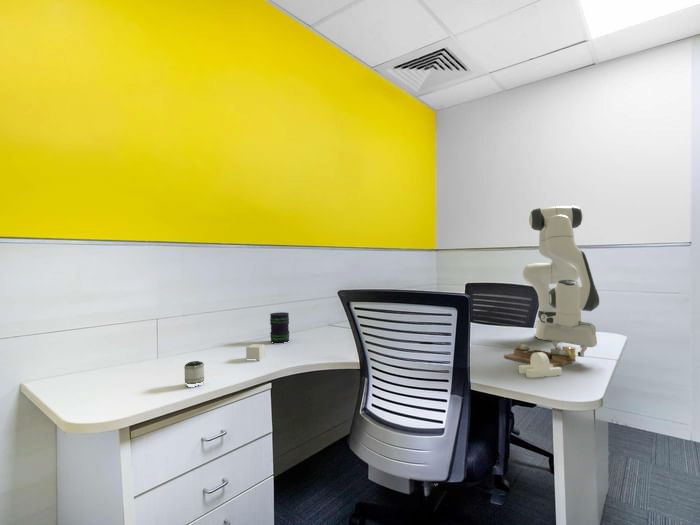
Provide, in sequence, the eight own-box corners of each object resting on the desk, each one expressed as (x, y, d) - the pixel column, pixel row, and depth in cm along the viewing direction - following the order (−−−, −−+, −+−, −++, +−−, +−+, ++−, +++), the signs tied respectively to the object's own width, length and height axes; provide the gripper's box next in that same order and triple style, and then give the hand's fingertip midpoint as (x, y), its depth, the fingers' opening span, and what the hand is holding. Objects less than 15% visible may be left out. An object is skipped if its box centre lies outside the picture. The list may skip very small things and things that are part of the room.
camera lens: (203, 381, 137) (202, 359, 137) (205, 386, 132) (204, 363, 132) (184, 384, 134) (183, 361, 134) (185, 389, 129) (185, 365, 129)
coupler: (567, 358, 158) (566, 346, 158) (577, 360, 154) (577, 348, 154) (560, 359, 156) (560, 347, 156) (571, 362, 152) (571, 349, 152)
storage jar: (290, 339, 207) (289, 312, 207) (288, 343, 198) (288, 314, 198) (271, 340, 207) (271, 312, 207) (269, 344, 197) (268, 315, 197)
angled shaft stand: (551, 357, 155) (550, 347, 155) (568, 359, 152) (567, 348, 152) (550, 360, 152) (550, 349, 152) (567, 361, 149) (567, 351, 149)
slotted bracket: (549, 370, 143) (549, 349, 142) (563, 375, 136) (562, 353, 136) (517, 372, 140) (517, 351, 140) (530, 378, 133) (529, 356, 133)
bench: (527, 352, 169) (526, 340, 169) (572, 362, 151) (572, 349, 151) (504, 357, 161) (503, 345, 161) (549, 368, 144) (548, 354, 144)
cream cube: (246, 361, 164) (246, 347, 164) (252, 357, 170) (252, 344, 170) (259, 361, 163) (259, 347, 163) (265, 358, 169) (265, 344, 169)
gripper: (599, 322, 148) (600, 358, 148) (549, 316, 165) (550, 348, 165) (590, 324, 145) (591, 360, 144) (540, 317, 162) (541, 350, 162)
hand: (569, 354), depth 155 cm, fingers open, 8 cm apart
